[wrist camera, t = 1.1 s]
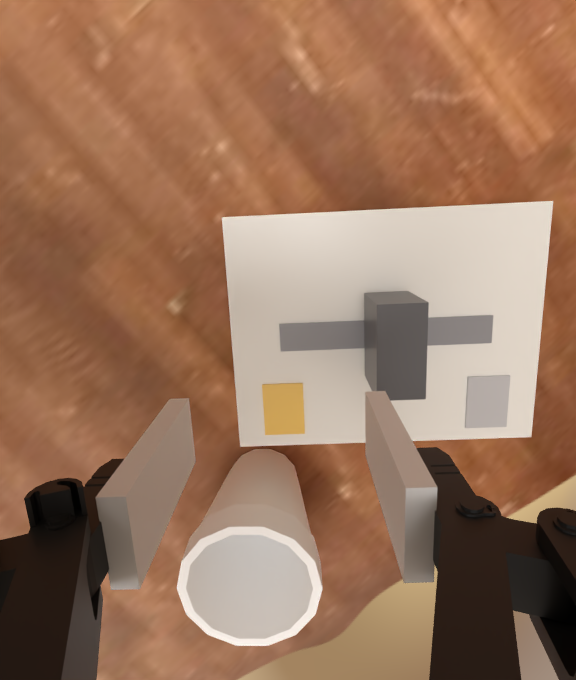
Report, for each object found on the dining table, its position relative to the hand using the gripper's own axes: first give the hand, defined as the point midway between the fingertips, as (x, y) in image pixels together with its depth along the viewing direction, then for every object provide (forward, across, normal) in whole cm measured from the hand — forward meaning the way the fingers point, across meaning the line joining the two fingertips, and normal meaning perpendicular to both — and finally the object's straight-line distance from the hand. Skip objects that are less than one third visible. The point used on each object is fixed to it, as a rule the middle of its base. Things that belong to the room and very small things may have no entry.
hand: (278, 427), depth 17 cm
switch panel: (+21, +7, 0) cm, 22 cm away
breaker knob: (+15, +7, 0) cm, 16 cm away
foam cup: (+21, -3, -15) cm, 26 cm away
